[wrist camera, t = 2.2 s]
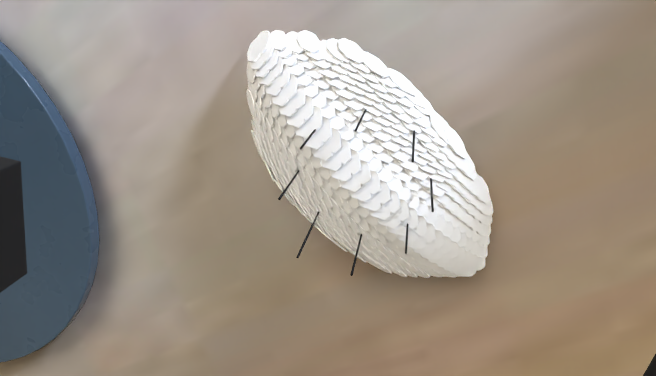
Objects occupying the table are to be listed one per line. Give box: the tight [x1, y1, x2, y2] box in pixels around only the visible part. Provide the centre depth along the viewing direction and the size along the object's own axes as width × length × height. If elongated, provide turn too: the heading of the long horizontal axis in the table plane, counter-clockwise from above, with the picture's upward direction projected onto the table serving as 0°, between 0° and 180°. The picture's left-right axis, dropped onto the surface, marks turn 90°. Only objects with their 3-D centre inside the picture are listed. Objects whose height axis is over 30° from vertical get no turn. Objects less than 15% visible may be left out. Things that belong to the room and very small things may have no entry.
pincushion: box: [246, 30, 494, 278], centre depth 16 cm, size 12×6×6 cm, turn 45°
